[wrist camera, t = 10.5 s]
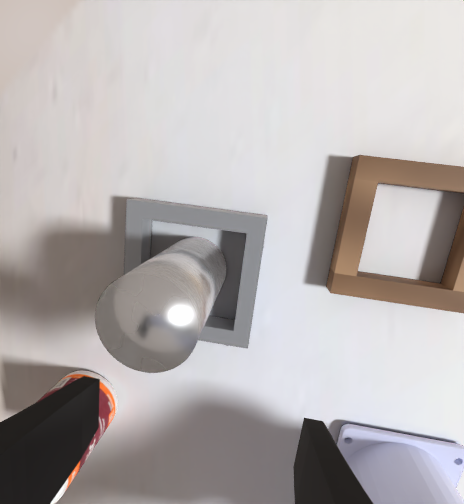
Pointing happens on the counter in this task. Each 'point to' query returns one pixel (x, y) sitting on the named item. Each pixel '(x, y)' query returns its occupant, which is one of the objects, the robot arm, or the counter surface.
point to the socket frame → (356, 223)
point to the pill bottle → (106, 414)
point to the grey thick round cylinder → (161, 306)
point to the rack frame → (250, 223)
